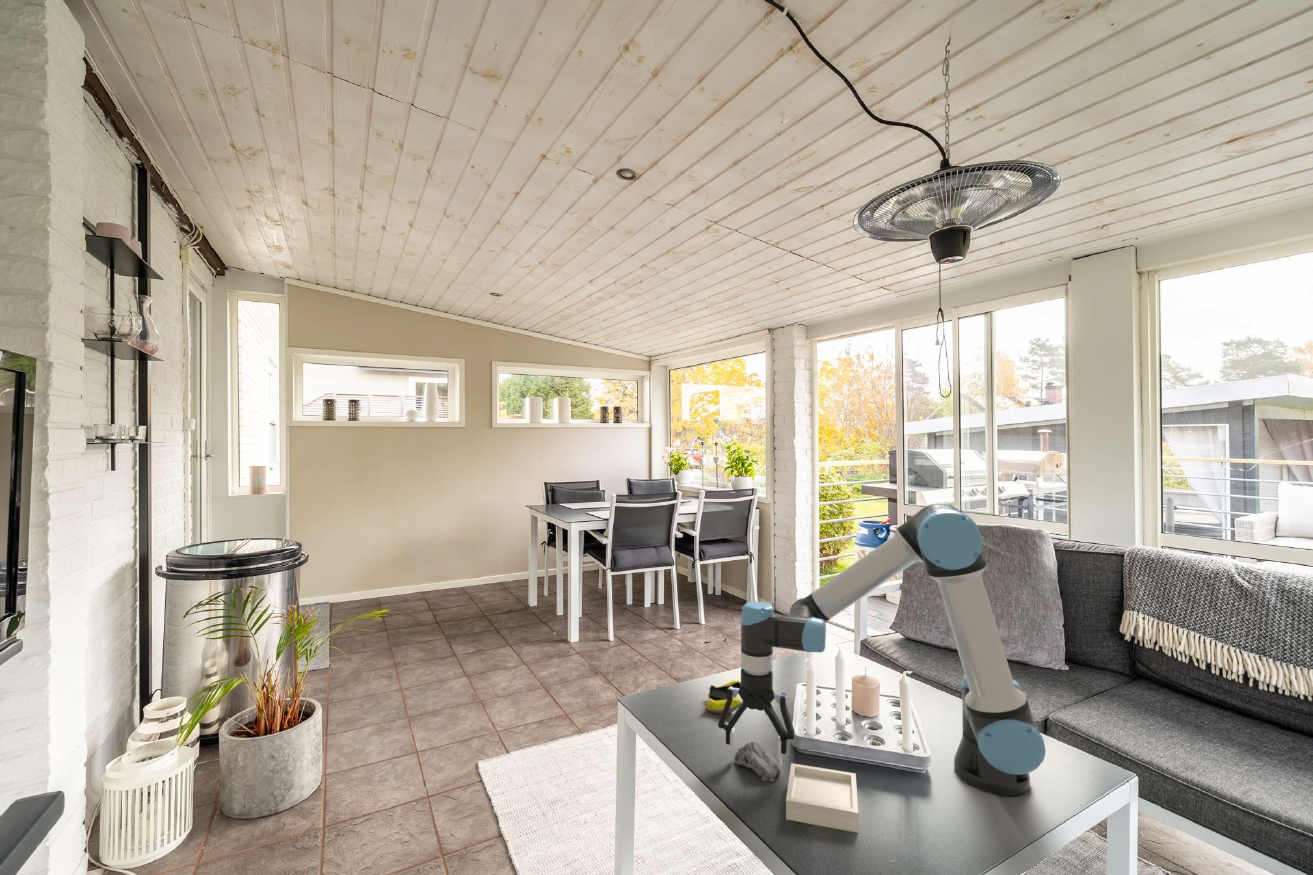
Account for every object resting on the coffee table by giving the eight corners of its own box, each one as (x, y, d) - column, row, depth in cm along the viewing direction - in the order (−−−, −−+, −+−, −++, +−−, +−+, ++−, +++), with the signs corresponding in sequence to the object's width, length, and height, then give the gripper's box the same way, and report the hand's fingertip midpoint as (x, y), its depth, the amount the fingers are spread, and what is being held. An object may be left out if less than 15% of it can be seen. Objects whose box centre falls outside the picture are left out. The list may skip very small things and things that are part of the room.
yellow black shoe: (742, 696, 176) (709, 694, 177) (742, 678, 176) (709, 676, 177) (740, 720, 161) (704, 717, 163) (740, 700, 161) (704, 698, 163)
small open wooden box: (855, 791, 128) (855, 773, 128) (858, 832, 115) (858, 812, 115) (791, 780, 132) (791, 763, 132) (786, 819, 119) (786, 799, 119)
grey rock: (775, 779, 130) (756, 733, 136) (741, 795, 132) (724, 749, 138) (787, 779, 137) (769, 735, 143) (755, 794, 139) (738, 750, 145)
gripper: (807, 669, 138) (806, 761, 138) (712, 657, 145) (711, 745, 145) (805, 681, 131) (804, 779, 131) (705, 668, 137) (704, 761, 138)
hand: (755, 761), depth 138 cm, fingers open, 10 cm apart
